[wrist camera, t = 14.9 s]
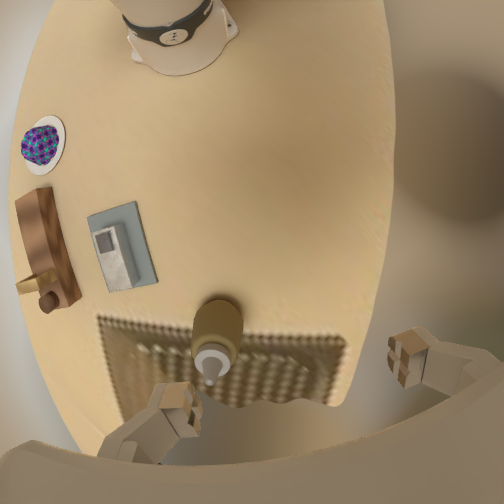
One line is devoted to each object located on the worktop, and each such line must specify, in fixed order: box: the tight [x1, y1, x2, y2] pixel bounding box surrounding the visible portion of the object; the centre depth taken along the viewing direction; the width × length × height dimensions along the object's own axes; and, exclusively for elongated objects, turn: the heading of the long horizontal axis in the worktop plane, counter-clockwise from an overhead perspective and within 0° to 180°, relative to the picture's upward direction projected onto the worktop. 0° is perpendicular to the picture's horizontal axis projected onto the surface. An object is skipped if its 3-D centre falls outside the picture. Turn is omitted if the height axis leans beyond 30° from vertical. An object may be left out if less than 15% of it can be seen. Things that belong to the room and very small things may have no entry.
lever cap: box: [92, 223, 141, 292], centre depth 40 cm, size 10×4×5 cm, turn 12°
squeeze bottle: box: [191, 300, 243, 386], centre depth 37 cm, size 8×8×18 cm
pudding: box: [21, 115, 65, 175], centre depth 35 cm, size 12×12×5 cm
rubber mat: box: [87, 202, 158, 293], centre depth 42 cm, size 14×10×1 cm
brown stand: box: [15, 187, 82, 314], centre depth 37 cm, size 22×7×11 cm, turn 12°
